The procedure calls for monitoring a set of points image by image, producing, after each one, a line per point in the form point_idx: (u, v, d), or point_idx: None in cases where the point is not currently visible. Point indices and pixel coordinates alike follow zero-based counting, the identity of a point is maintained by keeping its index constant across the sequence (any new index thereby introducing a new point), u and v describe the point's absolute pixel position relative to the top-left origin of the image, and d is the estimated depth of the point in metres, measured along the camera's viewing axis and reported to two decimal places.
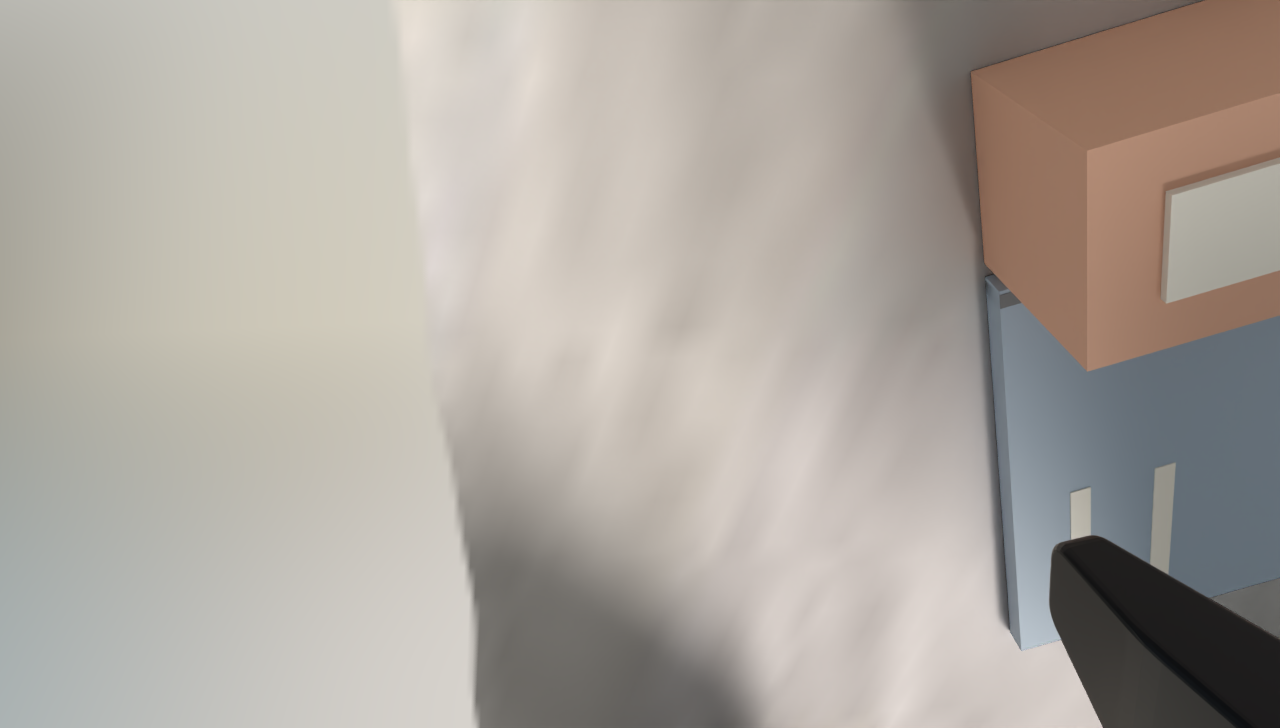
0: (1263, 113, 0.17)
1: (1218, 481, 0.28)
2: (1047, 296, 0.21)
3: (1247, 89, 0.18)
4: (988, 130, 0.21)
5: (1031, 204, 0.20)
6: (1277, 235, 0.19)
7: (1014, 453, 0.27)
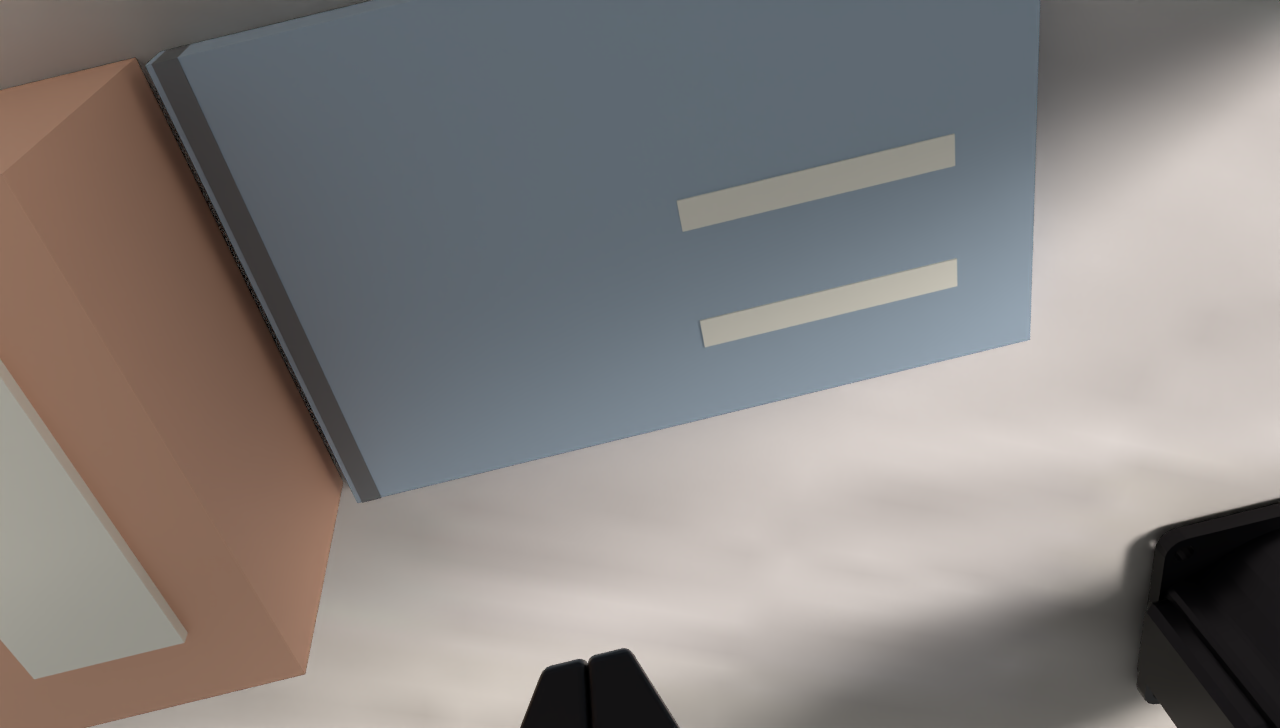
0: None
1: (737, 108, 0.16)
2: None
3: None
4: None
5: None
6: (60, 557, 0.14)
7: (615, 434, 0.19)
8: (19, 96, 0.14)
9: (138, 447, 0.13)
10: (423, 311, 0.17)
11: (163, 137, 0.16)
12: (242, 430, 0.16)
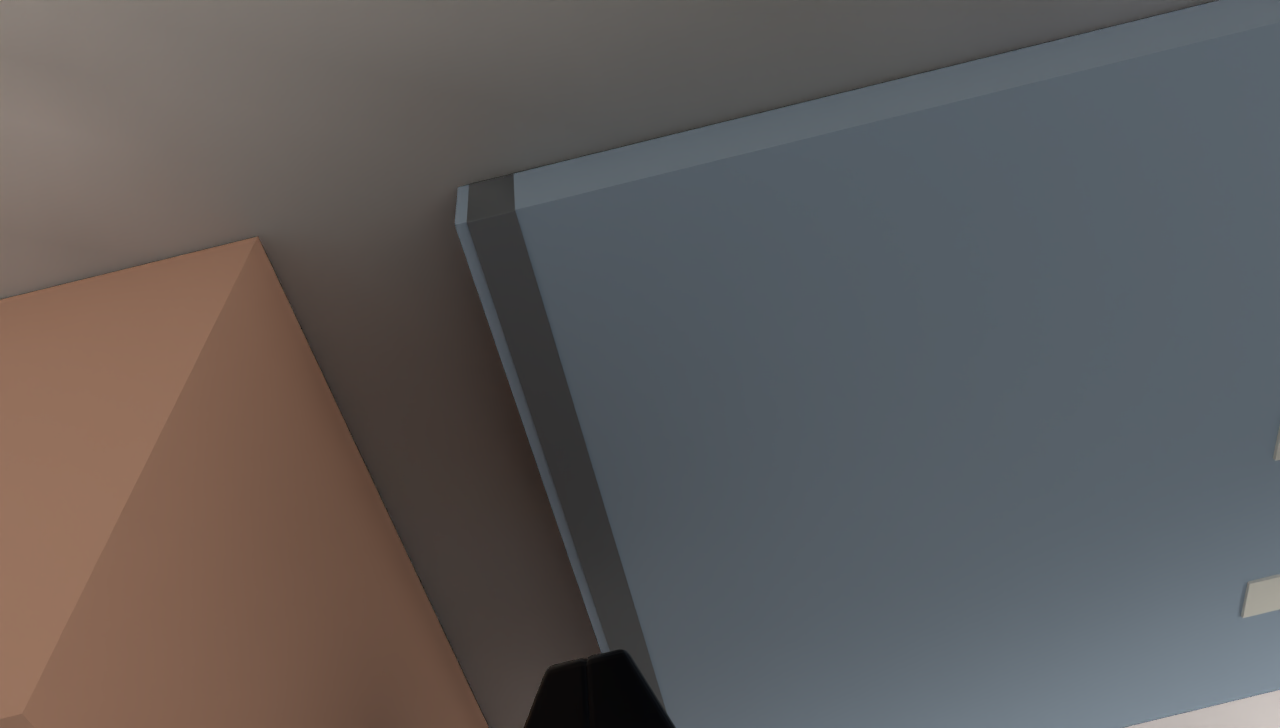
0: None
1: None
2: None
3: None
4: None
5: None
6: None
7: None
8: (50, 327, 0.08)
9: None
10: (833, 587, 0.11)
11: (302, 373, 0.09)
12: None
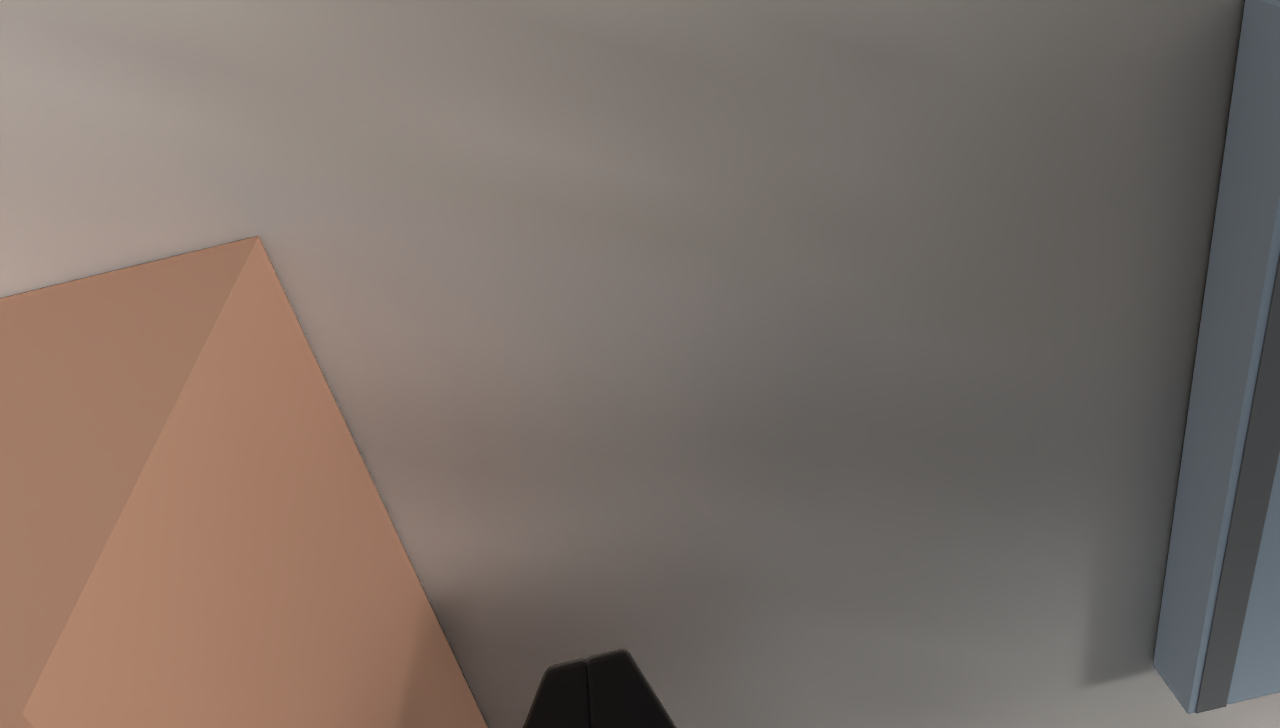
0: None
1: None
2: None
3: None
4: None
5: None
6: None
7: None
8: (50, 326, 0.08)
9: None
10: None
11: (304, 372, 0.09)
12: None
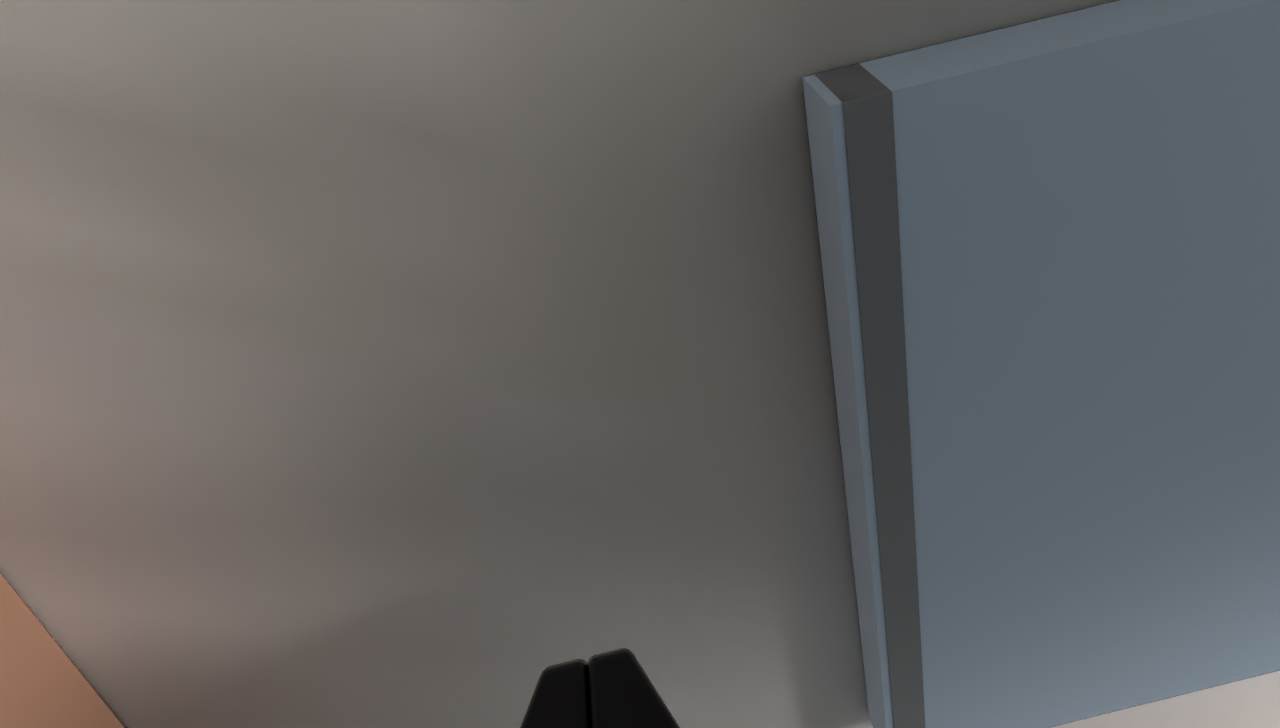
0: None
1: None
2: None
3: None
4: None
5: None
6: None
7: None
8: None
9: None
10: (1105, 501, 0.11)
11: None
12: None
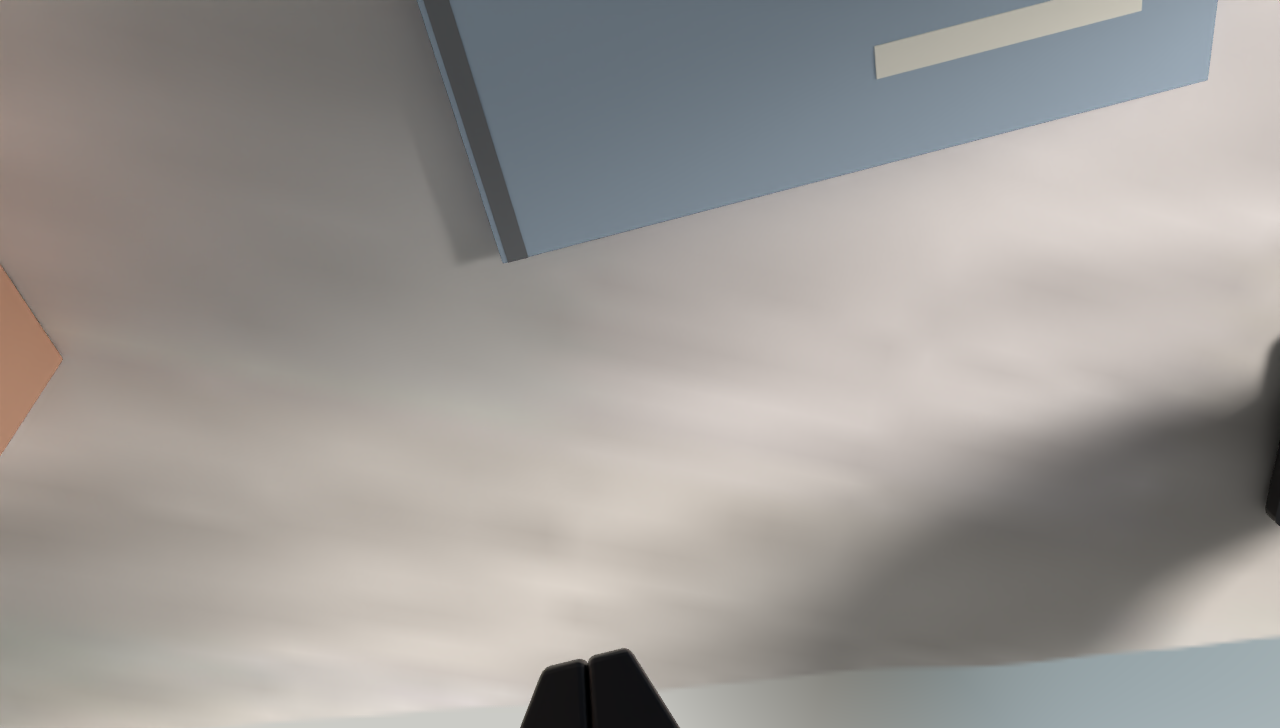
0: None
1: None
2: None
3: None
4: None
5: None
6: None
7: (775, 185, 0.18)
8: None
9: None
10: (590, 26, 0.16)
11: None
12: None
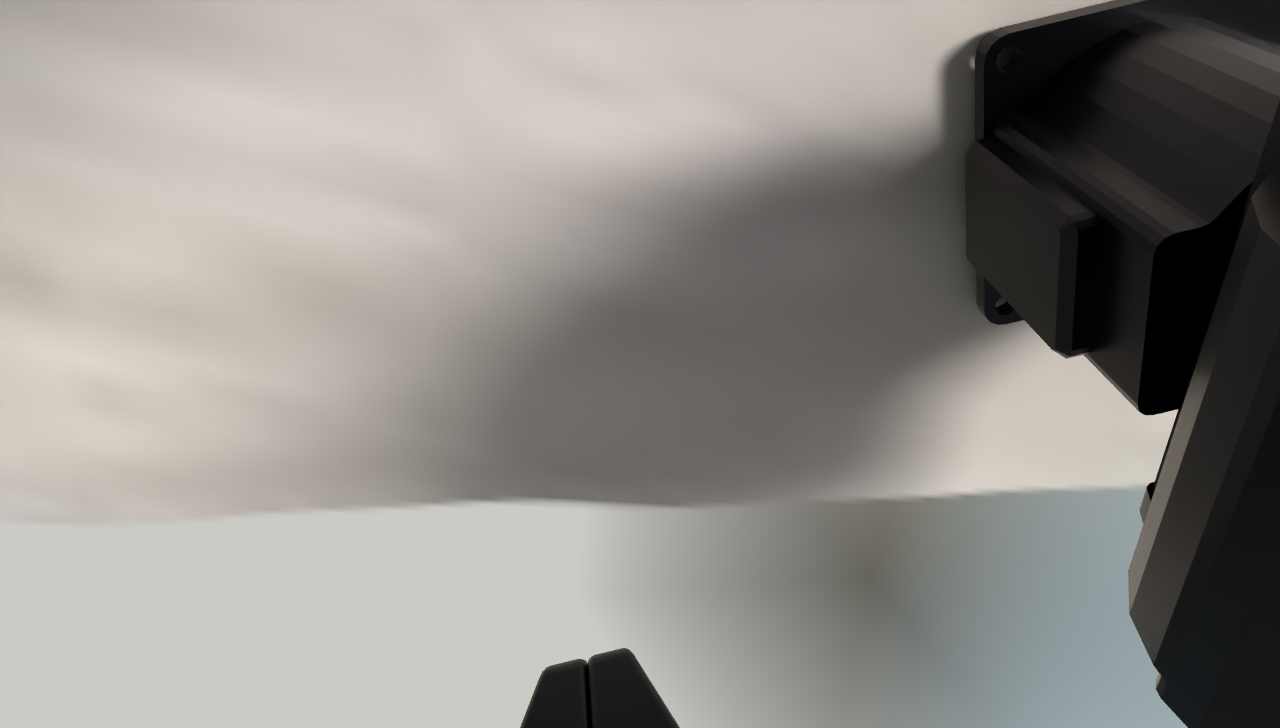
0: None
1: None
2: None
3: None
4: None
5: None
6: None
7: None
8: None
9: None
10: None
11: None
12: None
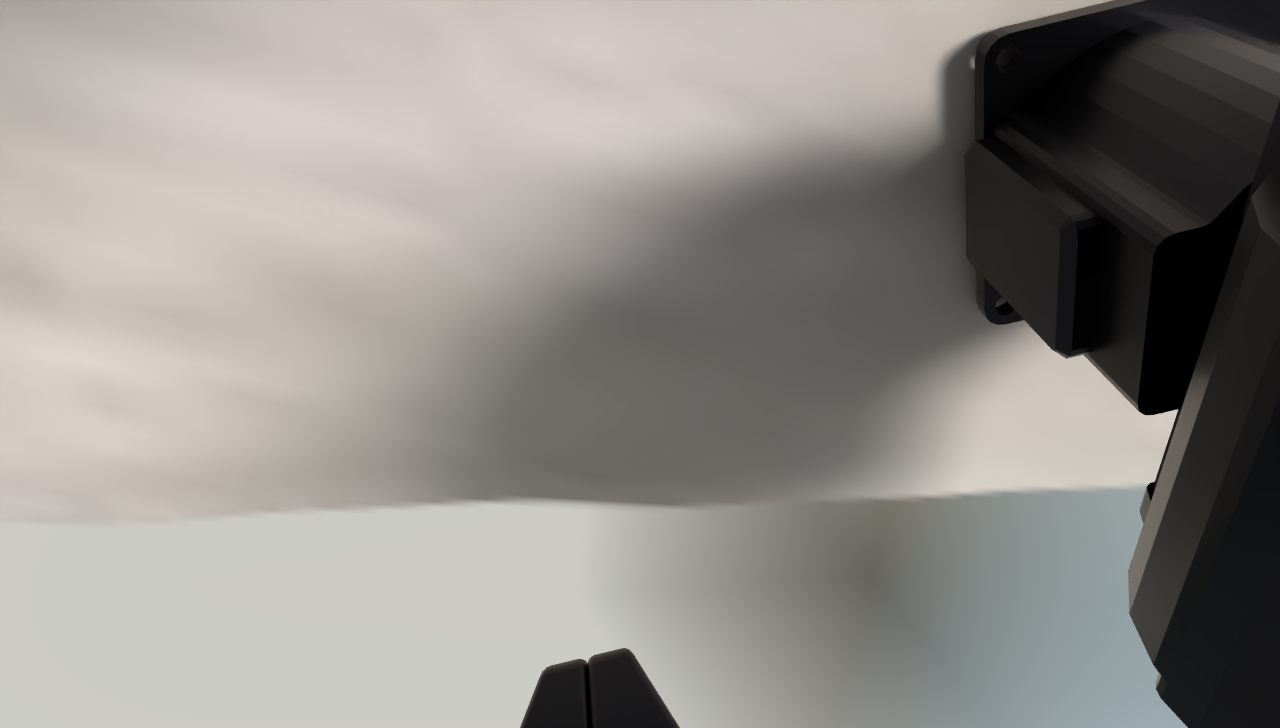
0: None
1: None
2: None
3: None
4: None
5: None
6: None
7: None
8: None
9: None
10: None
11: None
12: None
